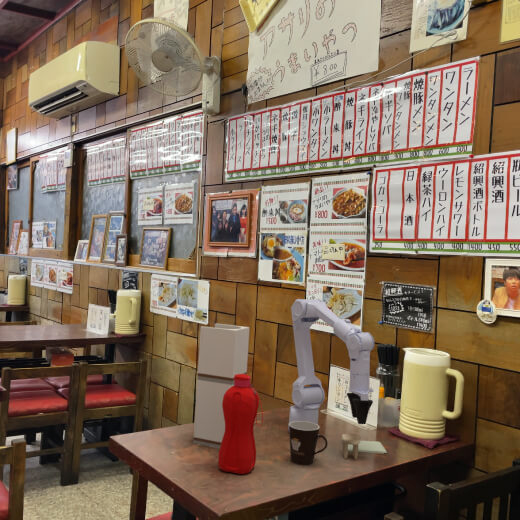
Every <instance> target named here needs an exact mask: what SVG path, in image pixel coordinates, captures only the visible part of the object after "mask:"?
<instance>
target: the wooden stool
mask: <svg viewBox="0 0 520 520" xmlns="http://www.w3.org/2000/svg"><path fill="white" fill-rule="evenodd" d="M360 441H361V437H360V436H359V434H355V433H350V432H349V433H343V434H341V442H342V456H343V458H344V460H348V454H349V453H348V452H349V451H348V444H350V445H353V452H352V456H354V460H358V457H359V456H358V455H359V452H358V444H359V443H360Z"/></svg>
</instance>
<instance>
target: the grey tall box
mask: <svg viewBox="0 0 520 520" xmlns="http://www.w3.org/2000/svg"><path fill="white" fill-rule="evenodd" d="M199 332H200V333H199V346H198V347H199V348H198V362H197V363H198V364H197V378H196V392H195V408H194V409H195V411H194V424H193V441H192V444H193V443H195V444H194V445H196V444H200V445H199V446H201V445H205V446H204V447H206V446H209V447H208V448H211V447H214V448H213V449H216V448H218V449H217V450H220V446H221V443H222V439H223V436H224V432H225V420H224V414H223V408H222V402H223V397H224V394H225V393H226V391H227V390H228V389H229V388H230V387H232V386H234V379H233V377H234V376H235V375H236V374H246V375H248V358H249V341H250V340H249V339H250V327H249V326H243V325H242V326H240V325H234V324H224V323H214V327H211V326H203V325H202V326H200V330H199Z"/></svg>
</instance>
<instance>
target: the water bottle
mask: <svg viewBox="0 0 520 520" xmlns="http://www.w3.org/2000/svg"><path fill="white" fill-rule="evenodd" d="M233 379H234V386H232V387H230V388H229V389H228V390H227V391H226V393H225V394H224V397H223V402H222V408H223V414H224V420H225V432H224V436H223V439H222V443H221V446H220V449H218V468H219V469H220V470H222V471H223V472H225V473H226V472H227V473H232V474H237V475H238V474H239V475H243V474H248V473H250V472H251V471H252V470H253V469H254V468H255V465H256V461H257V448H256V440H255V434H254V426H255V424H256V425H257V426H258V427H261V425H264V424H263V423H264V414H263V413H264V412H263V406H262V401H261V398H260V397H259V393H258V391H257V390H256V389H255V388H254V387H253V384H252V383H251V376H250V375H249V374H247V375H246V374H236V375H235V376H234V377H233ZM259 406H260V409H261V416H262V418H261V421H262V422H261V425H259V424H258V422H257V419H258V418H257V417H258V410H259Z"/></svg>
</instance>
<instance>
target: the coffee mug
mask: <svg viewBox="0 0 520 520" xmlns="http://www.w3.org/2000/svg"><path fill="white" fill-rule="evenodd" d="M288 424H289V429H288V432H289V433H288V434H289V450H290V451H289V454H290V462H291V463H292V464H295V465H298V466H299V465H300V466H311V465H313V464H314V460H315V455H317V454H319V453H322V452H323V451H325V450H326V448H327V447H328V444H329V443H328V439H327V438H326V437H325V436H324V435H322V434H319V431H320V428H321V427H320V425H319V424H318V425H317V424H315V423H312V422H307V421H294V422H291V423H289V422H288ZM318 434H319V435H318ZM320 438H322V439H323V440H324V442H325V445H324V447H323V448H322V449H319V450H318V451H316V449H317V445H318V440H319V439H320Z"/></svg>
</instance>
